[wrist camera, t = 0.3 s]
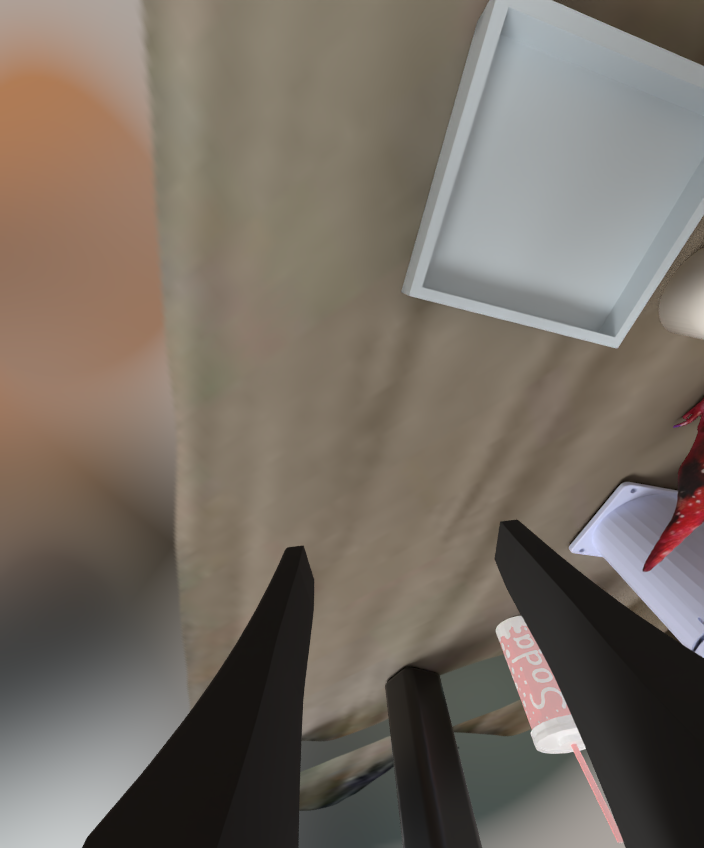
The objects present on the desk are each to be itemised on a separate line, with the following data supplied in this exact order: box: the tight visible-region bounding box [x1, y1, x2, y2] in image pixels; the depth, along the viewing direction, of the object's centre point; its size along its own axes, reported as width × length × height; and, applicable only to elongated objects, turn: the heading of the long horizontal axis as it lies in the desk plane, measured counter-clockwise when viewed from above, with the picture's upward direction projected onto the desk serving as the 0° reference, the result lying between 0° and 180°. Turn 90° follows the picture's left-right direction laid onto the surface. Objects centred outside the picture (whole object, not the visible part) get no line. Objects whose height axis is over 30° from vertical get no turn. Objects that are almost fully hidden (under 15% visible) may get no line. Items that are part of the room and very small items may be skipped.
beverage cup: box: [496, 616, 624, 843], centre depth 27 cm, size 6×6×14 cm
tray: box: [401, 0, 704, 348], centre depth 14 cm, size 12×10×2 cm
